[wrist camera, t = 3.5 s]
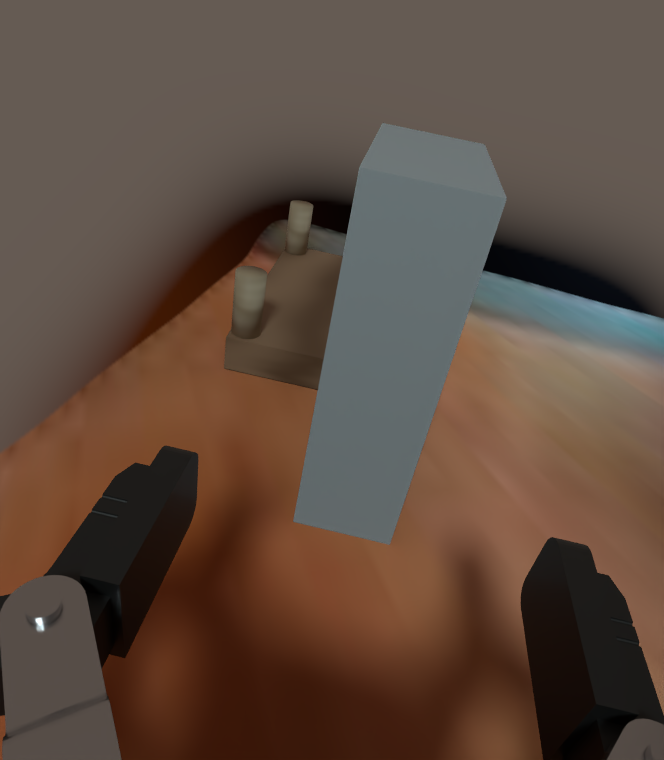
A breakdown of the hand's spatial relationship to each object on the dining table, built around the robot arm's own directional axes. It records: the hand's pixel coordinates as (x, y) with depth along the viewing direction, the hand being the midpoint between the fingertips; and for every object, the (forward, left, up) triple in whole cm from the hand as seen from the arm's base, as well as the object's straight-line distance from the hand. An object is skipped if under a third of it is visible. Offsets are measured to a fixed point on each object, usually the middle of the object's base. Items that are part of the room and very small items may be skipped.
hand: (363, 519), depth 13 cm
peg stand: (+3, -24, -8) cm, 25 cm away
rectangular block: (0, -11, -8) cm, 13 cm away
